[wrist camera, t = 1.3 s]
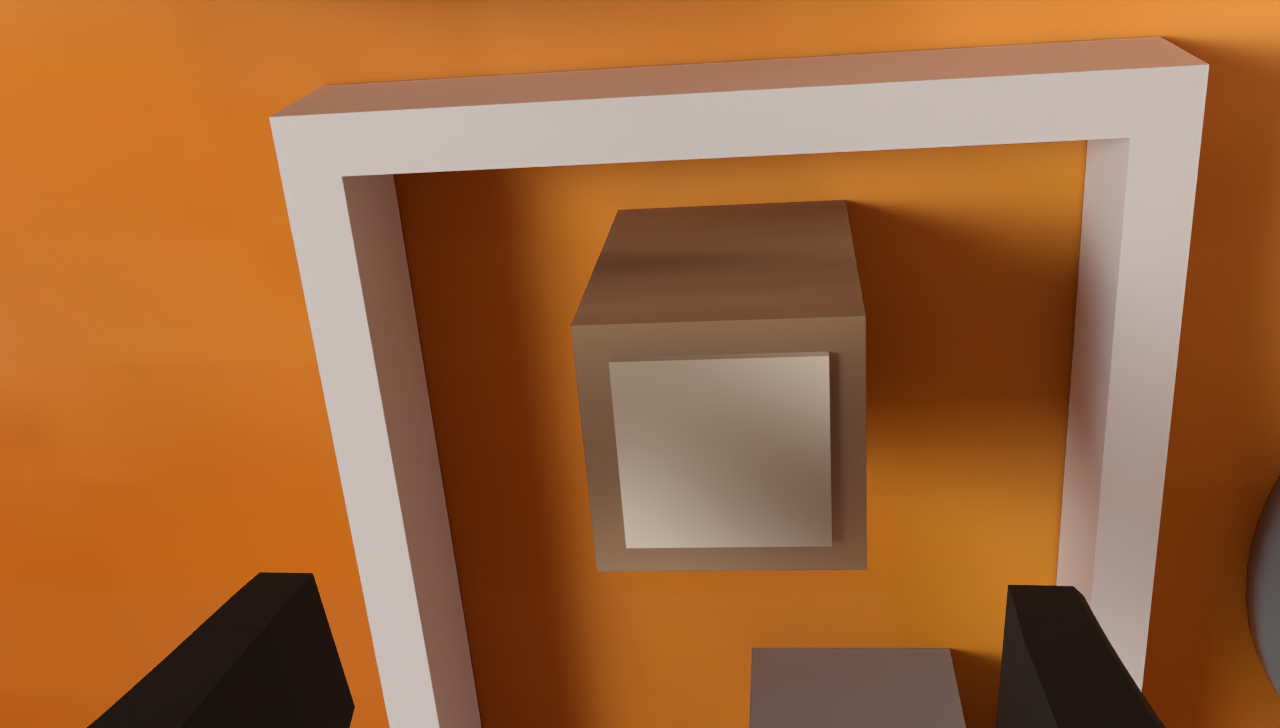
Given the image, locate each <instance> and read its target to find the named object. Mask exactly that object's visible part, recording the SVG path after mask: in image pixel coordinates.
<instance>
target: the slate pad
mask: <svg viewBox="0 0 1280 728" xmlns="http://www.w3.org/2000/svg"><path fill="white" fill-rule="evenodd" d="M1246 603H1247V612H1248V622H1249V628H1250V631H1251V635H1252V638H1253V642H1254V645H1255V649H1256V652H1257V655H1258V657H1259V659H1260V661H1261V663H1262V665H1263V668H1264V670H1265V672H1266V674H1267V676H1268V678H1269V680H1270V682H1271V684H1272V685H1273V687H1274V689H1275V691H1276V692H1277V694H1278V696H1279V698H1280V477H1279V479H1278V481H1277V483H1276V484H1275V486H1274V488H1273V490H1272V492H1271V493H1270V495H1269V497H1268V499H1267V501H1266V504H1265V507H1264V509H1263V512H1262V514H1261V517H1260V520H1259V522H1258V525H1257V527H1256V530H1255V533H1254V538H1253V542H1252V547H1251V551H1250V556H1249V560H1248V567H1247V583H1246Z"/></svg>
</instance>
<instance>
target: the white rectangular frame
mask: <svg viewBox="0 0 1280 728" xmlns="http://www.w3.org/2000/svg"><path fill="white" fill-rule="evenodd" d="M1208 73H1209V64H1208V63H1206V62H1204V61H1202V60H1201V59H1199V58H1197V57H1195V56H1193V55H1192V54H1190V53H1188V52H1186V51H1185V50H1183V49H1181V48H1179V47H1178V46H1176V45H1174V44H1172V43H1171V42H1169V41H1167V40H1165V39H1163V38H1162V37H1160V36H1155V37H1138V38H1122V39H1105V40H1088V41H1071V42H1054V43H1037V44H1020V45H1003V46H986V47H969V48H952V49H935V50H918V51H901V52H884V53H867V54H850V55H833V56H816V57H799V58H782V59H765V60H749V61H732V62H715V63H698V64H681V65H664V66H647V67H630V68H613V69H596V70H579V71H562V72H545V73H528V74H511V75H494V76H477V77H460V78H443V79H426V80H409V81H393V82H376V83H359V84H342V85H325V86H322V87H320V88H318V89H316V90H315V91H313V92H311V93H310V94H308V95H306V96H305V97H303V98H301V99H299V100H298V101H296V102H294V103H293V104H291V105H289V106H287V107H286V108H284V109H282V110H281V111H279V112H277V113H275V114H274V115H272V116H270V117H269V119H270V124H271V129H272V134H273V139H274V144H275V149H276V154H277V159H278V164H279V169H280V175H281V180H282V185H283V190H284V195H285V200H286V205H287V210H288V215H289V220H290V225H291V230H292V235H293V240H294V245H295V250H296V255H297V261H298V266H299V271H300V276H301V281H302V286H303V291H304V296H305V301H306V306H307V311H308V316H309V321H310V326H311V331H312V336H313V341H314V347H315V352H316V357H317V362H318V367H319V372H320V377H321V382H322V387H323V392H324V397H325V402H326V407H327V412H328V417H329V422H330V427H331V433H332V438H333V443H334V448H335V453H336V458H337V463H338V468H339V473H340V478H341V483H342V488H343V493H344V498H345V503H346V508H347V513H348V518H349V524H350V529H351V534H352V539H353V544H354V549H355V554H356V559H357V564H358V569H359V574H360V579H361V584H362V589H363V594H364V599H365V604H366V610H367V615H368V620H369V625H370V630H371V635H372V640H373V645H374V650H375V655H376V660H377V665H378V670H379V675H380V680H381V685H382V690H383V696H384V701H385V706H386V711H387V716H388V721H389V726H390V728H482V726H481V720H480V714H479V708H478V701H477V695H476V689H475V683H474V676H473V670H472V664H471V658H470V651H469V645H468V639H467V633H466V626H465V620H464V614H463V608H462V601H461V595H460V589H459V583H458V576H457V570H456V564H455V558H454V551H453V545H452V539H451V533H450V526H449V520H448V514H447V508H446V501H445V495H444V489H443V483H442V476H441V470H440V464H439V458H438V452H437V445H436V439H435V433H434V427H433V420H432V414H431V408H430V402H429V395H428V389H427V383H426V377H425V370H424V364H423V358H422V352H421V345H420V339H419V333H418V327H417V320H416V314H415V308H414V302H413V295H412V289H411V283H410V277H409V270H408V264H407V258H406V252H405V245H404V239H403V233H402V227H401V220H400V214H399V208H398V202H397V195H396V189H395V183H394V177H393V174H403V173H423V172H444V171H464V170H484V169H505V168H525V167H545V166H565V165H586V164H606V163H626V162H647V161H667V160H687V159H708V158H728V157H748V156H768V155H789V154H809V153H829V152H850V151H870V150H890V149H911V148H931V147H951V146H971V145H992V144H1012V143H1032V142H1053V141H1073V140H1088V145H1087V159H1086V173H1085V187H1084V201H1083V215H1082V229H1081V244H1080V258H1079V272H1078V286H1077V300H1076V314H1075V329H1074V343H1073V357H1072V371H1071V385H1070V399H1069V414H1068V428H1067V442H1066V456H1065V470H1064V484H1063V499H1062V513H1061V527H1060V541H1059V555H1058V569H1057V584H1056V586H1074V587H1075V588H1076V589H1077V590H1078V591H1079V592H1080V593H1082V594H1083V595H1084V597H1085V599H1086V601H1087V603H1088V604H1089V606H1090V608H1091V610H1092V612H1093V614H1094V615H1095V617H1096V619H1097V621H1098V622H1099V624H1100V626H1101V628H1102V629H1103V631H1104V633H1105V635H1106V636H1107V638H1108V640H1109V641H1110V643H1111V645H1112V646H1113V648H1114V650H1115V651H1116V653H1117V655H1118V656H1119V658H1120V659H1121V661H1122V663H1123V664H1124V666H1125V667H1126V669H1127V671H1128V672H1129V674H1130V675H1131V677H1132V678H1133V680H1134V681H1135V683H1136V684H1137V686H1138V688H1139V689H1140V691H1141V692H1142V684H1143V675H1144V665H1145V656H1146V647H1147V638H1148V628H1149V619H1150V610H1151V601H1152V591H1153V582H1154V573H1155V564H1156V554H1157V545H1158V536H1159V527H1160V517H1161V508H1162V499H1163V490H1164V480H1165V471H1166V462H1167V452H1168V443H1169V434H1170V425H1171V415H1172V406H1173V397H1174V388H1175V378H1176V369H1177V360H1178V351H1179V341H1180V332H1181V323H1182V314H1183V304H1184V295H1185V286H1186V277H1187V267H1188V258H1189V249H1190V239H1191V230H1192V221H1193V212H1194V202H1195V193H1196V184H1197V175H1198V165H1199V156H1200V147H1201V138H1202V128H1203V119H1204V110H1205V101H1206V91H1207V82H1208Z"/></svg>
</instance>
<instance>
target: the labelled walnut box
mask: <svg viewBox="0 0 1280 728" xmlns="http://www.w3.org/2000/svg"><path fill="white" fill-rule="evenodd" d="M571 331H572V340H573V349H574V359H575V368H576V378H577V387H578V396H579V406H580V415H581V425H582V434H583V443H584V453H585V462H586V472H587V481H588V490H589V500H590V509H591V519H592V528H593V537H594V547H595V556H596V566H597V572H610V571H754V570H867V542H866V314H865V308H864V302H863V297H862V291H861V285H860V280H859V274H858V268H857V262H856V257H855V251H854V245H853V240H852V234H851V228H850V223H849V217H848V211H847V205H846V200H833V201H811V202H788V203H766V204H743V205H721V206H698V207H676V208H653V209H631V210H618V212H617V215H616V217H615V219H614V222H613V224H612V227H611V229H610V232H609V234H608V237H607V239H606V241H605V244H604V246H603V249H602V251H601V254H600V256H599V258H598V261H597V263H596V266H595V268H594V271H593V273H592V276H591V278H590V280H589V283H588V285H587V288H586V290H585V293H584V295H583V298H582V300H581V302H580V305H579V307H578V310H577V312H576V315H575V317H574V319H573V322H572V324H571Z"/></svg>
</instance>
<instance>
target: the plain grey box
mask: <svg viewBox="0 0 1280 728" xmlns="http://www.w3.org/2000/svg"><path fill="white" fill-rule="evenodd" d="M749 728H966V725H965V721H964V716H963V711H962V706H961V701H960V696H959V692H958V687H957V682H956V677H955V672H954V667H953V662H952V658H951V653H950V648H752V663H751V694H750V725H749Z"/></svg>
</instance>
